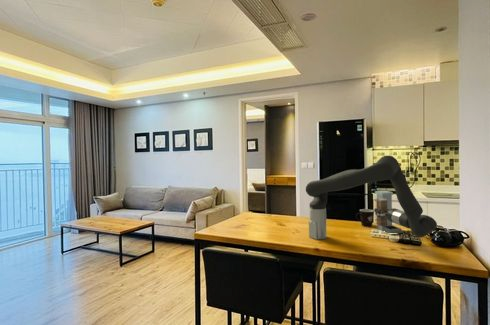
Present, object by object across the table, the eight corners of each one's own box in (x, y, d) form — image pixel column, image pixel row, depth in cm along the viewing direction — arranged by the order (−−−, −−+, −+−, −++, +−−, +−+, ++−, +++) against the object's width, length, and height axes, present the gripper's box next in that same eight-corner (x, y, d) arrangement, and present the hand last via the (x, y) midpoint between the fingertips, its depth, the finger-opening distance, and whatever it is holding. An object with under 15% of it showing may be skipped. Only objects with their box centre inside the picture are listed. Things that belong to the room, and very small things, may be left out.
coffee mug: (372, 223, 180) (372, 209, 179) (375, 227, 171) (375, 212, 171) (354, 223, 182) (353, 208, 182) (356, 226, 174) (355, 211, 174)
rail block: (387, 225, 151) (387, 199, 150) (380, 226, 150) (380, 199, 149) (382, 223, 155) (382, 198, 154) (376, 224, 154) (376, 198, 153)
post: (393, 230, 164) (392, 192, 163) (382, 231, 163) (382, 192, 162) (386, 227, 171) (385, 190, 170) (376, 228, 170) (375, 191, 169)
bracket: (401, 233, 157) (401, 228, 157) (390, 234, 156) (390, 229, 156) (393, 230, 164) (392, 225, 164) (382, 230, 164) (382, 226, 163)
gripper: (411, 209, 138) (390, 202, 155) (385, 210, 137) (367, 204, 154) (411, 223, 139) (390, 215, 156) (385, 225, 137) (367, 216, 154)
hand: (378, 209), depth 155 cm, fingers closed on rail block, 4 cm apart
